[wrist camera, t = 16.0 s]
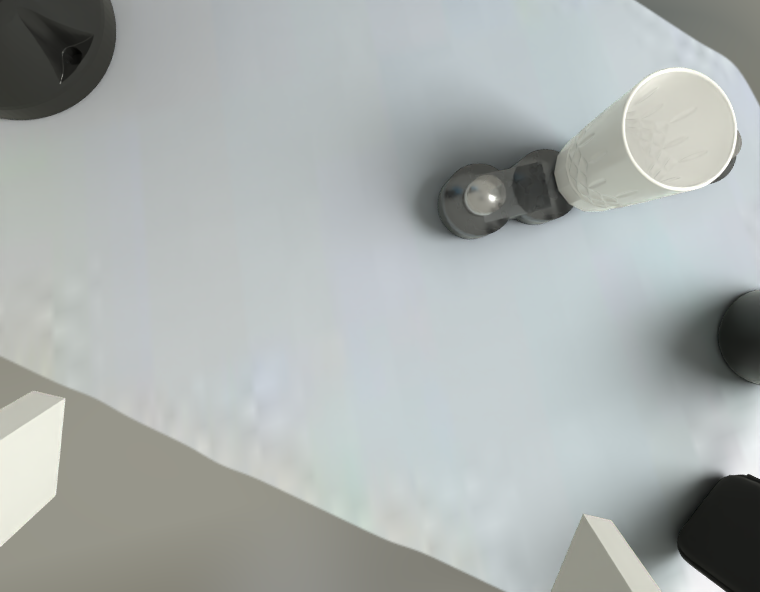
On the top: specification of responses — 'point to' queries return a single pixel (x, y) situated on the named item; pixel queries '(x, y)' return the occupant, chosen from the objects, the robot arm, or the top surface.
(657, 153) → the white cup
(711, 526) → the black rounded slab
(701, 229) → the top surface
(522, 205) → the chain end left
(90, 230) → the top surface
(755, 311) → the ink bottle
